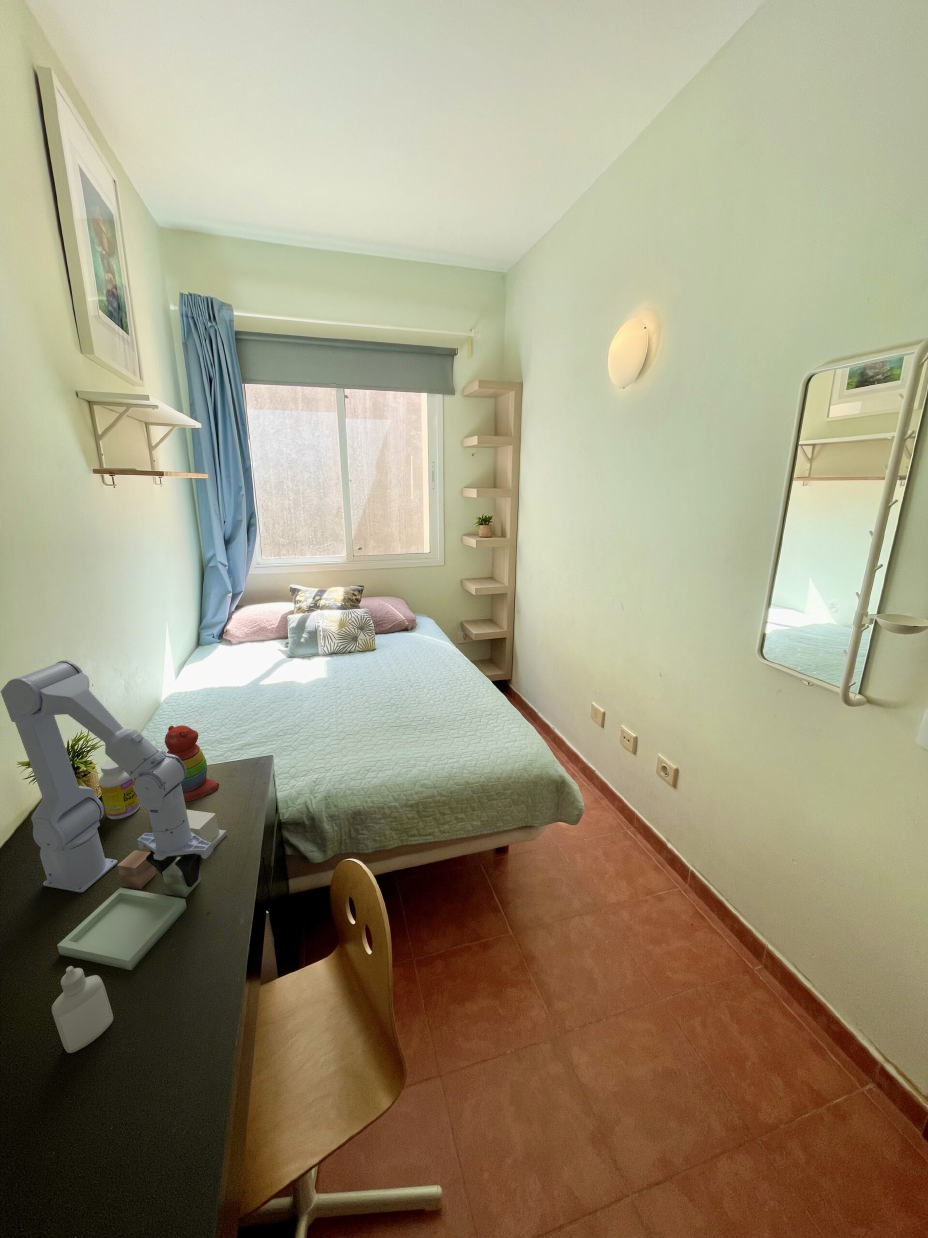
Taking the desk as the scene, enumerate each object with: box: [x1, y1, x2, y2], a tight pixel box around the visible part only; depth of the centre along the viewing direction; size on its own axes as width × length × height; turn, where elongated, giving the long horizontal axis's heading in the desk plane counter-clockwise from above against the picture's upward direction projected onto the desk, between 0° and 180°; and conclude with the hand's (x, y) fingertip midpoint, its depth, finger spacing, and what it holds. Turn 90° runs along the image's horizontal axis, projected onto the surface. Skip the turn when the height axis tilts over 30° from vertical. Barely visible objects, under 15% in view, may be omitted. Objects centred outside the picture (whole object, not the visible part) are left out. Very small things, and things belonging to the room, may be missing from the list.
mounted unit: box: [186, 809, 228, 850], centre depth 105 cm, size 13×7×6 cm, turn 78°
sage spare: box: [162, 856, 201, 898], centre depth 93 cm, size 4×4×5 cm
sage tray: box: [57, 887, 187, 971], centre depth 85 cm, size 14×12×2 cm
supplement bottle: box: [98, 759, 141, 820], centre depth 114 cm, size 7×7×13 cm
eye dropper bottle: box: [51, 965, 114, 1054], centre depth 68 cm, size 4×6×12 cm
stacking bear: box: [164, 724, 220, 802], centre depth 121 cm, size 11×10×18 cm
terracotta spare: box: [116, 849, 158, 890], centre depth 95 cm, size 4×4×5 cm
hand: (182, 881), depth 94 cm, fingers closed on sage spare, 4 cm apart
